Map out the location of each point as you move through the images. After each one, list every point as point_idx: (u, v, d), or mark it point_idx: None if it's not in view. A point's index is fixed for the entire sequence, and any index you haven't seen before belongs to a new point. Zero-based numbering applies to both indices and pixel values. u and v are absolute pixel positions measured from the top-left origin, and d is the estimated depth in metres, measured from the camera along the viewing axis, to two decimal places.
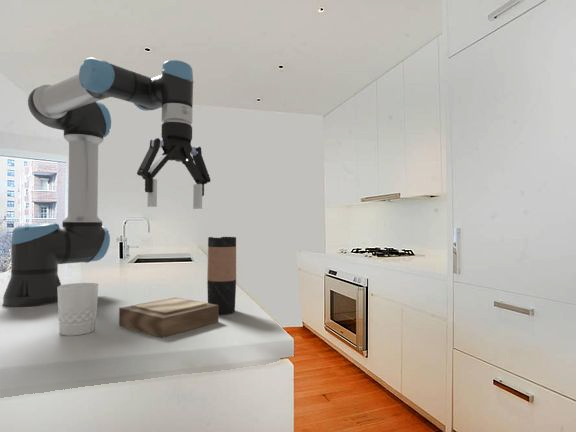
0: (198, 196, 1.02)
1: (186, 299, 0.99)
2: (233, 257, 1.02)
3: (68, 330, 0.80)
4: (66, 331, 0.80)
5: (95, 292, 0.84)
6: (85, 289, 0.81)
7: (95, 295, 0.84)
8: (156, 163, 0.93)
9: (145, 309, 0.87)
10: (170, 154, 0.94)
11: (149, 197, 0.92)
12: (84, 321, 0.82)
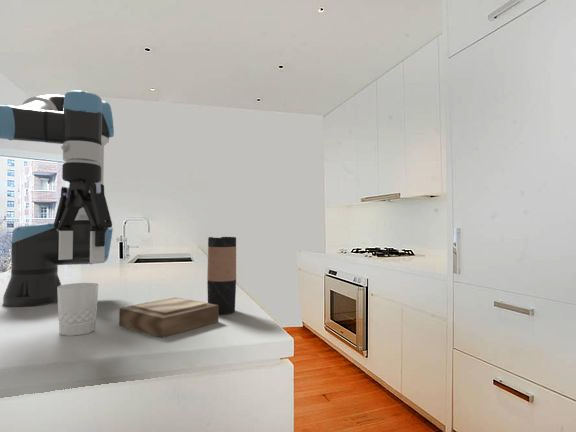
0: None
1: (186, 299, 0.99)
2: (233, 257, 1.02)
3: (68, 330, 0.80)
4: (66, 331, 0.80)
5: (95, 292, 0.84)
6: (85, 289, 0.81)
7: (95, 295, 0.84)
8: None
9: (145, 309, 0.87)
10: (66, 201, 0.84)
11: None
12: (84, 321, 0.82)
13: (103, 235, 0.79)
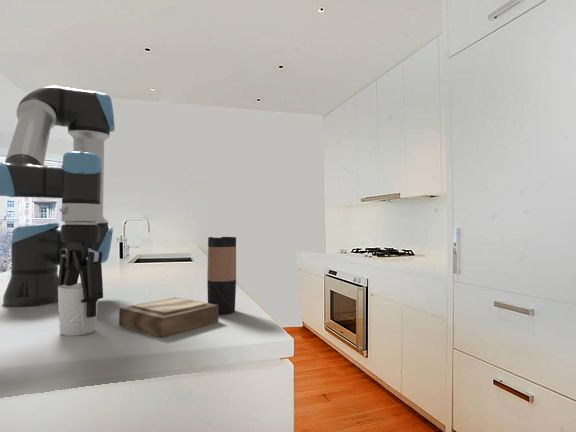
0: None
1: (186, 299, 0.99)
2: (233, 257, 1.02)
3: (69, 330, 0.80)
4: (67, 331, 0.80)
5: None
6: None
7: None
8: None
9: (145, 309, 0.87)
10: (66, 263, 0.84)
11: None
12: None
13: (94, 305, 0.81)
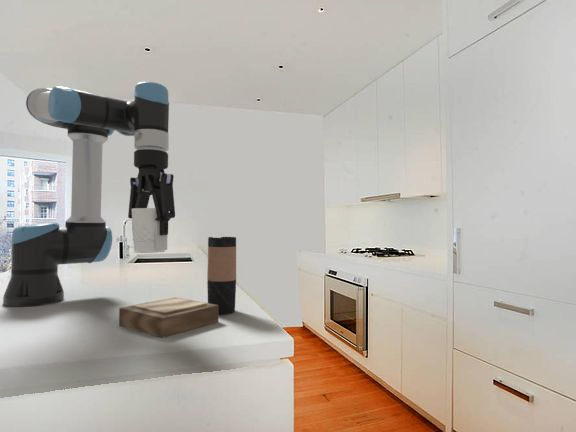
0: None
1: (186, 299, 0.99)
2: (233, 257, 1.02)
3: (143, 247, 0.86)
4: (141, 248, 0.86)
5: None
6: None
7: None
8: None
9: (145, 309, 0.87)
10: (138, 188, 0.89)
11: None
12: None
13: (167, 225, 0.86)
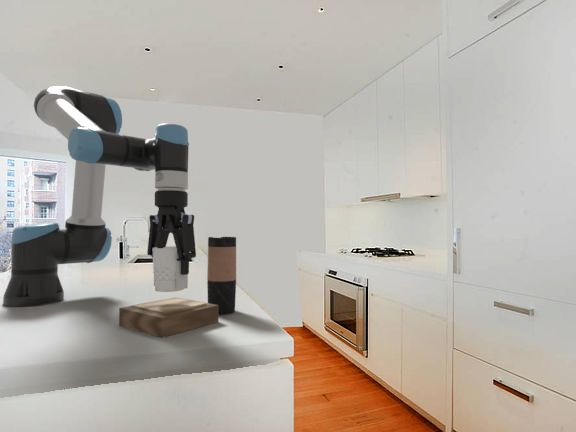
0: None
1: (186, 299, 0.99)
2: (233, 257, 1.02)
3: (165, 286, 0.87)
4: (163, 288, 0.88)
5: None
6: None
7: None
8: None
9: (145, 309, 0.87)
10: (158, 227, 0.91)
11: None
12: None
13: (187, 264, 0.88)
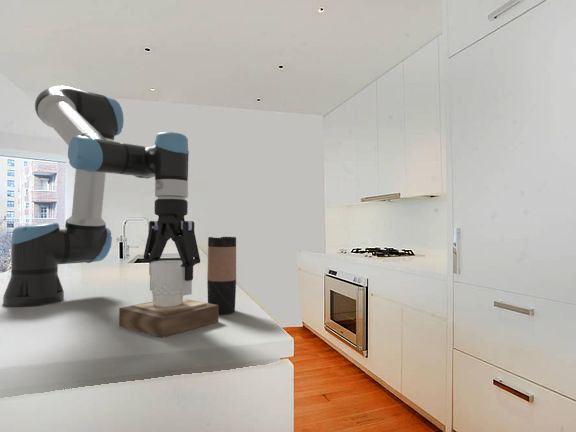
0: None
1: (186, 299, 0.99)
2: (233, 257, 1.02)
3: (163, 302, 0.88)
4: (161, 303, 0.88)
5: None
6: (177, 264, 0.89)
7: None
8: None
9: (145, 309, 0.87)
10: (157, 234, 0.92)
11: None
12: (176, 294, 0.89)
13: (192, 270, 0.87)
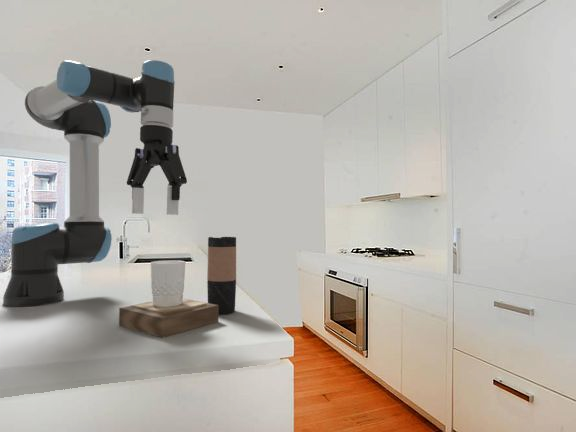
0: None
1: (186, 299, 0.99)
2: (233, 257, 1.02)
3: (163, 302, 0.88)
4: (161, 303, 0.88)
5: (184, 268, 0.91)
6: (177, 264, 0.89)
7: (184, 271, 0.91)
8: None
9: (145, 309, 0.87)
10: (142, 161, 0.94)
11: None
12: (176, 294, 0.89)
13: (178, 190, 0.90)
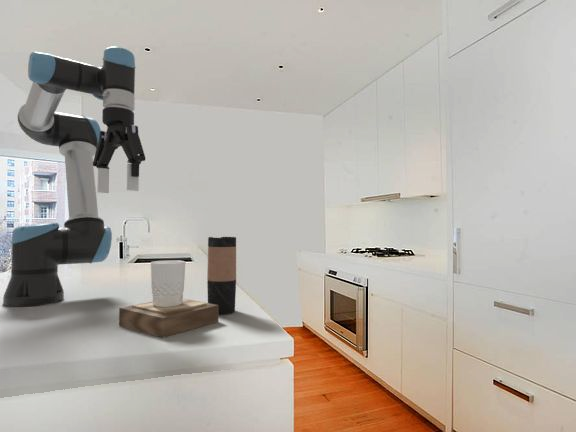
0: None
1: (186, 299, 0.99)
2: (233, 257, 1.02)
3: (163, 302, 0.88)
4: (161, 303, 0.88)
5: (184, 268, 0.91)
6: (177, 264, 0.89)
7: (184, 271, 0.91)
8: None
9: (145, 309, 0.87)
10: (105, 142, 1.00)
11: None
12: (176, 294, 0.89)
13: (138, 167, 0.95)
